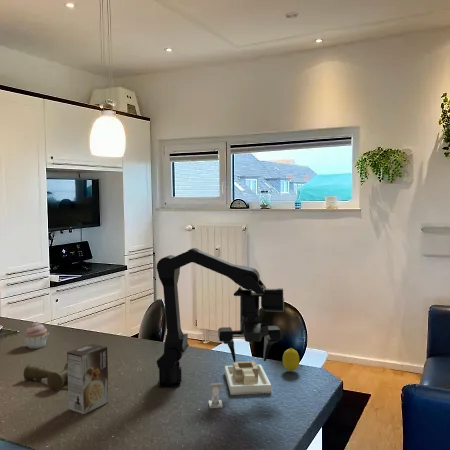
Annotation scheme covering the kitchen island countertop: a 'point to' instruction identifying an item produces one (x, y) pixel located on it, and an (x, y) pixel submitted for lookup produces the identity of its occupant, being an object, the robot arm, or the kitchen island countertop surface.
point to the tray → (239, 388)
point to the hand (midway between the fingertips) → (249, 361)
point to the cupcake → (36, 336)
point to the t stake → (215, 396)
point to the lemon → (290, 359)
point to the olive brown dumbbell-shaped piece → (46, 375)
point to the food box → (87, 378)
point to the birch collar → (245, 372)
